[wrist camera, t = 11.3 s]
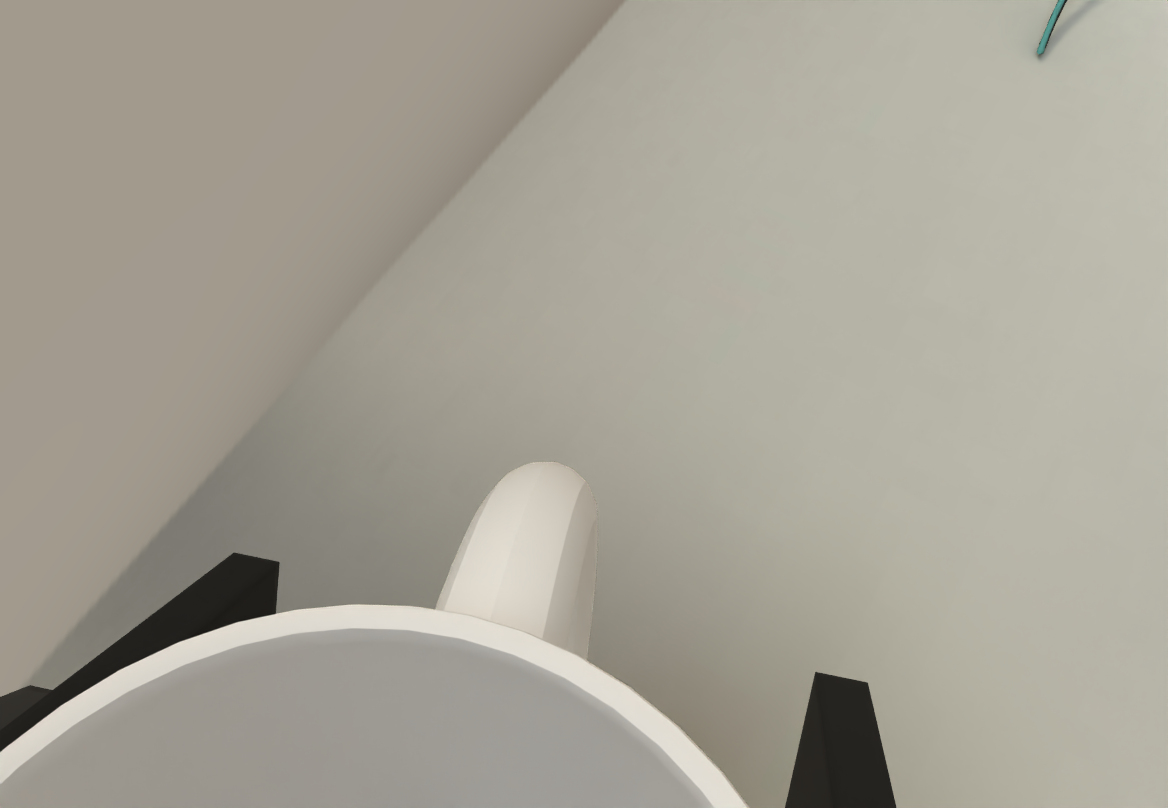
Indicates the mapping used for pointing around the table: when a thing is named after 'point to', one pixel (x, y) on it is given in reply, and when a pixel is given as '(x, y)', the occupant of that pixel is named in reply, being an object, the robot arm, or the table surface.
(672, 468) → the table surface
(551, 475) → the mug
